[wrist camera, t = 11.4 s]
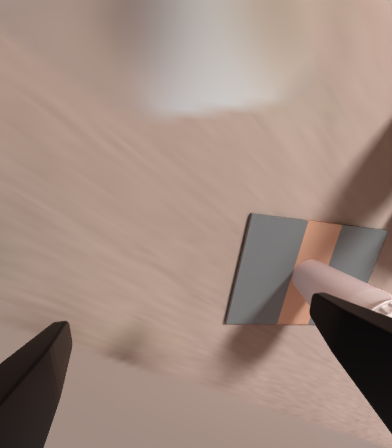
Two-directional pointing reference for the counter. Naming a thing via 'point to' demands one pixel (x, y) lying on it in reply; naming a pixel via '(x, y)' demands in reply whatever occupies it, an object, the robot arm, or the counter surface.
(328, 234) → the slate board
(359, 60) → the counter surface
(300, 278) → the smoothie
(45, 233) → the counter surface
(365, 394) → the robot arm
